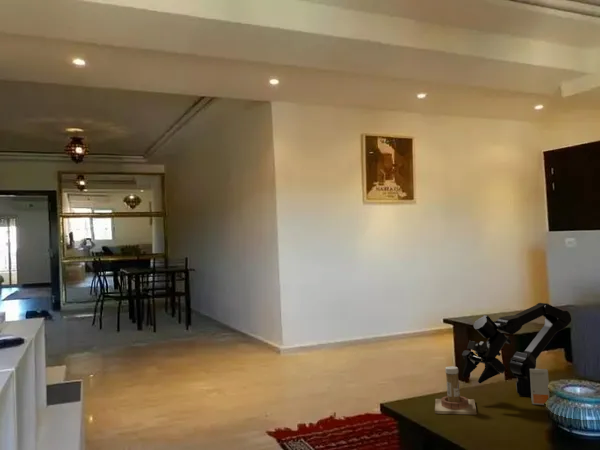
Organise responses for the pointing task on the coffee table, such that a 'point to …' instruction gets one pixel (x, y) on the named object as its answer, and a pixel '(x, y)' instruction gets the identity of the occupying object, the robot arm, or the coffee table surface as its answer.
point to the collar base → (455, 406)
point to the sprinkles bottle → (452, 384)
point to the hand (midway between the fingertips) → (470, 379)
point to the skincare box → (539, 386)
